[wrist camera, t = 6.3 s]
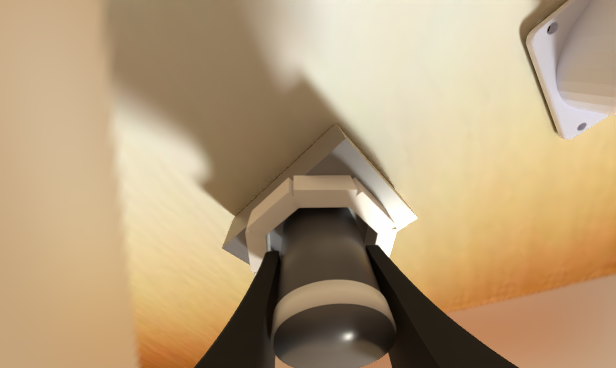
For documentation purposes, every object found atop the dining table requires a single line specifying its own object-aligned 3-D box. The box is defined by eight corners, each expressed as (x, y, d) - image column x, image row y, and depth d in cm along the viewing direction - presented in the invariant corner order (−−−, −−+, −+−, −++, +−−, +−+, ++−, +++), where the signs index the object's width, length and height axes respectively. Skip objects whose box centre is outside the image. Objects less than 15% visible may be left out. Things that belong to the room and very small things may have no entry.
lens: (363, 199, 12) (413, 306, 7) (352, 258, 14) (384, 371, 9) (280, 199, 12) (266, 309, 7) (282, 259, 14) (273, 375, 9)
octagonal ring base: (330, 117, 13) (345, 141, 9) (401, 196, 16) (435, 239, 12) (228, 214, 16) (206, 263, 12) (303, 265, 19) (306, 318, 15)
